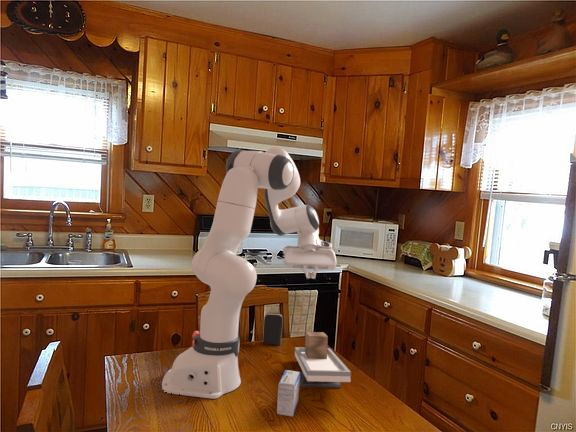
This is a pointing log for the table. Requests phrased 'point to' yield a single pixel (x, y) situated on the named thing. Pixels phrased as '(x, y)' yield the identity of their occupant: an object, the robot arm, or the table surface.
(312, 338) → the walnut block
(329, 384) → the pivot stand
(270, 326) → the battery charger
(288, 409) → the medicine box
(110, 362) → the table surface
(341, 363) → the white flat rectangular tray
